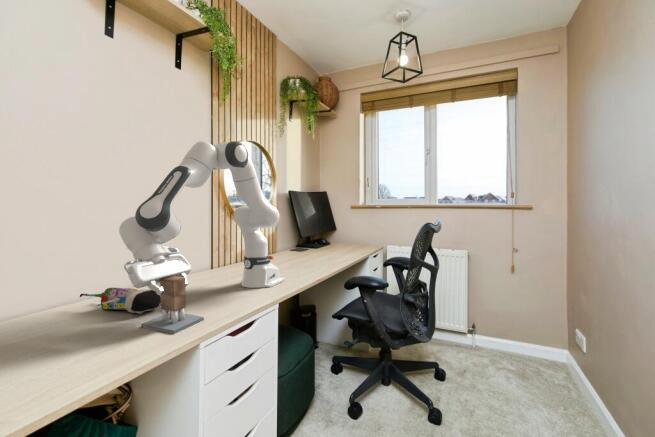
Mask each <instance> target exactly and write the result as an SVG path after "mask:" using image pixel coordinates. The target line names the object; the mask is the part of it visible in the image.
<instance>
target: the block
mask: <svg viewBox="0 0 655 437" xmlns="http://www.w3.org/2000/svg"><path fill="white" fill-rule="evenodd" d="M160 287H163V289H164V290H165V292H164V293H163V294H161V295H160V297H161V303H160V310H161V311H162V310H168V312H169V311H173V312H175V311H177V312H178V310H180V309H183V308H184V309H185V308H186V307H187V304H186V303H187V299H186V298H187V295H186V289H187V286H186V285H185V277H177V276H169V277H165V278H161V279H160Z"/></svg>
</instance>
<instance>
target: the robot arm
mask: <svg viewBox="0 0 655 437" xmlns="http://www.w3.org/2000/svg"><path fill="white" fill-rule="evenodd" d="M248 152H249V151H248V150H247V148H246V145H244V144H243V143H242V142H240V141H234V140H233V141H223V142H222V141H221V142H219V143H216V144H211V143H210V142H208V141H201V140H200V141H197V142H195V144H193V145H192V146H191V147H190V149H189V150H188V151H187V153H186V154H185V155H184V157H183V159H182V160H181V162H180V163H179V165H178V166H176V167H173V169H172V170H171V171H170V172H169V173H168V174H167V175H166V176H165V178H164V179H163V180H162V182H161V183H159V184H160V185H159V186H158V187H157V188H156V190H154V192H153V193H152V194H151V195H150V196H149V197H148V198H147V199H146V200H144V201H143V202H142V203H140V205H139V206H138V207H137V209H136V211H135V215H134V216H130V217H128V218H126V219H125V220H123V221H122V222H121V223H120V225H119V230H118V232H119V236H120V237H121V240H122V243H124V245H125V247H126V248H127V249H128V250H129V252H130V251H131V253H132V257H133V258H134V260H129V261H126V263H125V264H124V266H123V269H124V270H125V272H126V273H127V275H128V278H129V280H130V282H131V284H132V286H133V287H134V288H135V289H141V288H144V287H147V288H148V289H149V290H153V291H156V293H157V294H158V295H161V294H163V293H164V292H165V290H164V289H163V287H159V286H158V285H156V283H160V279H161V278H165V277H169V276H177V277H185V285H186V287H188V286H189V282H188V280H187V276H188V275H189V273H190V272H191V271H192V265H191V264H190V263H189V261H188V259H187V258H186V257H185V256H184V255H183V254H181V253H180V252H181V251H180V249H179V248H177V247H171V246H167V245H162V244H165V243H166V242H169V241H171V240H173V239H174V238H176V237H178V235H180V232H181V229H182V224H181V222H180V220H179V219H178V217H177V216H176V215H175V214H174V213H173V211H172V204H173V202H175V199H176V198H177V197H178V195H179V194H180V193H181V191H182V189H183V188H185V187H187V188H192V189H195V188H196V189H197V188H201V187H202V186H204V185H205V184H206V182H207V181H208V180H209V177H210V176H211V173H213V170H215V171H216V170H229V171H230V172H231V177H232V181H233V184H234V188H235V191H236V194H237V196H238V198H239V199H240V200H241V201H243V203H245V204H246V205H241V206H238V207H236V209H235V210H234V211H233V214H232V215H233V221H234V222H235V224H236V225H237V226H238V227H239V229H240V232H241V234H242V236H243V241H244V255H243V264H244V267H243V274H242V275H243V276H242V279H241V280H242V281H241V286H242V287H245V288H248V289H249V288H250V289H257V288H258V289H259V288H272V287H273V286H276V285H278V284H280V283H282V282H285V280H286V279H285V277H283V276H281V271H280V269H279V267H278V266H276V265H275V264H274V263H272V262H271V260H274V258H275V257H274V255H271V254H270V255H269V254H268V253H269V246H268V244H269V241H268V239H267V237H266V236H265V235H264V234H263V232H262V231H261V230H262V229H269V228H270V229H271V228H274V227H276V226H277V225H278V224H279V221H280V216H281V215H280V211H279V210H278V209H277V207H275V206H273V205H272V203H270V202H269V201H268V199H267V198H266V196H265V195H264V193H263V190H262V187H261V185H260V181H259V177H258V174H257V170H256V168H255V165H254V163H253V161H252V159H251V157H250V156H249V153H248Z"/></svg>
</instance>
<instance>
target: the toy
mask: <svg viewBox="0 0 655 437" xmlns="http://www.w3.org/2000/svg"><path fill="white" fill-rule="evenodd" d="M83 296H85V297H95V298H100V303H98V304H96V305H97V306H100V307H101V309H102V310H103V311H108V310H116V311H117V310H118V311H119V310H125V311H127V312H129V313H131V314H132V313H133V314H135V313H136V314H139V315H140V314H143V313H144V312H152V311H154V310H156V309H157V308H158V307H159V306H161V297H160V295H158V294H157V293H156V291H153V290H151V289H139V290H138V288H130V287H129V288H128V287H126V288H123V287H122V288H121V287H107V288H106V289H105V290H104V292H102V293H93V294H91V293H80V295H79V298H82V297H83Z"/></svg>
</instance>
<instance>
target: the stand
mask: <svg viewBox="0 0 655 437" xmlns="http://www.w3.org/2000/svg"><path fill="white" fill-rule="evenodd" d="M204 320H205V316H200V315H196V314H195V315H194V314H191V313H190V314H188V313H185V308H183V309H180V310H178V311H175V312H173V311H168V310H162V309H161V315H160V316H158V317H156V318H152V319H149V320H147V321H144V322H142V323H141V325H140V327H141V328H144V329H148V330H149V329H150V330H155V331H157V332H158V331H159V332H163V333H168V334H172V335H173V334H174V335H175V334H177V333H179V332H181V331H184V330H185V329H187V328H190V327H192V326H194V325H196V324H198V323H200V322H202V321H204Z"/></svg>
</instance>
